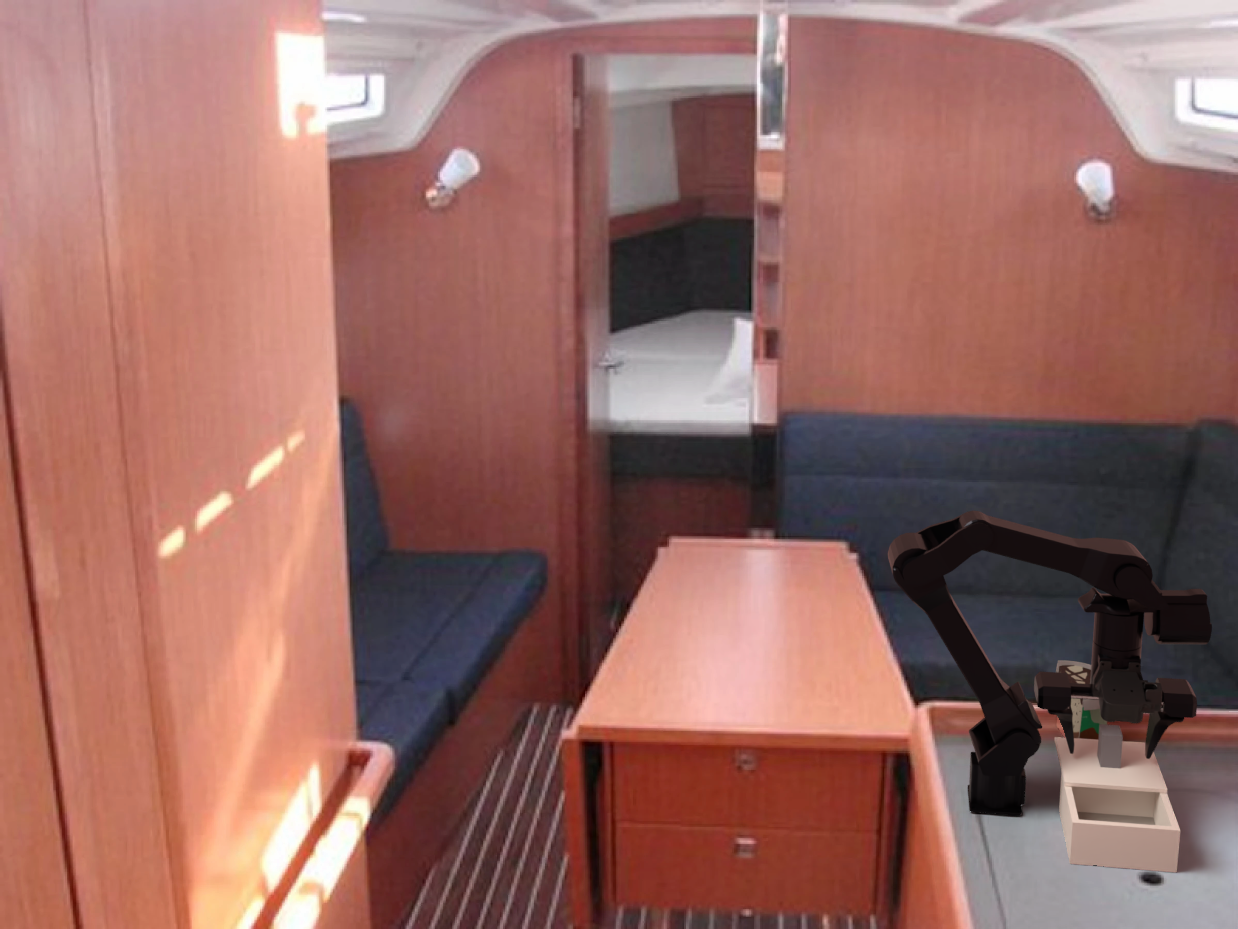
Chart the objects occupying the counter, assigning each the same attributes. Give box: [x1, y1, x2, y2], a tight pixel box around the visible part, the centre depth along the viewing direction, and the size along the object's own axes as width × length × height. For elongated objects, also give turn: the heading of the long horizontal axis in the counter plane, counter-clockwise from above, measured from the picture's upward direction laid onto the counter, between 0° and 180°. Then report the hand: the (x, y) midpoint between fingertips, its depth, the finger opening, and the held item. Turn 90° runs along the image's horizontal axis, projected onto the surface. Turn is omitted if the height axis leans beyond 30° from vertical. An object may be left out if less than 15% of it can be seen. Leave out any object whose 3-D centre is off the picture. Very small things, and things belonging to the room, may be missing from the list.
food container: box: [1055, 659, 1108, 740], centre depth 184 cm, size 12×6×10 cm, turn 179°
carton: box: [1058, 772, 1181, 873], centre depth 160 cm, size 12×12×6 cm
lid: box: [1054, 724, 1168, 794], centre depth 166 cm, size 12×12×5 cm
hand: (1109, 754), depth 166 cm, fingers open, 9 cm apart
